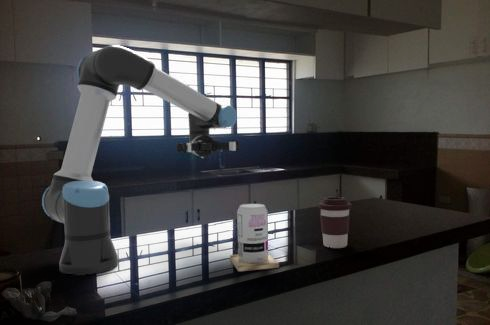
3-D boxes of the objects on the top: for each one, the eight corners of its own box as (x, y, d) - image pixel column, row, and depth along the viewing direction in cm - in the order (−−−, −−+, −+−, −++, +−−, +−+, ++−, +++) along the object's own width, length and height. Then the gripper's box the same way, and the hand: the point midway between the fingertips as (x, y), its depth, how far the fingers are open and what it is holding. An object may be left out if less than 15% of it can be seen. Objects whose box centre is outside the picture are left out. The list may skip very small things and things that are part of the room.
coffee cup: (336, 240, 137) (335, 195, 137) (358, 246, 129) (357, 198, 128) (312, 244, 132) (311, 198, 132) (334, 251, 124) (333, 201, 123)
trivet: (238, 271, 108) (238, 266, 108) (230, 259, 118) (230, 255, 118) (279, 267, 110) (279, 262, 110) (267, 256, 121) (267, 251, 121)
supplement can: (250, 254, 120) (249, 202, 119) (274, 258, 115) (273, 204, 114) (232, 260, 114) (230, 206, 113) (256, 266, 109) (254, 208, 108)
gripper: (238, 155, 150) (252, 157, 129) (167, 158, 144) (171, 160, 123) (237, 134, 149) (252, 133, 129) (166, 136, 144) (170, 135, 123)
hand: (212, 146), depth 126 cm, fingers open, 13 cm apart
